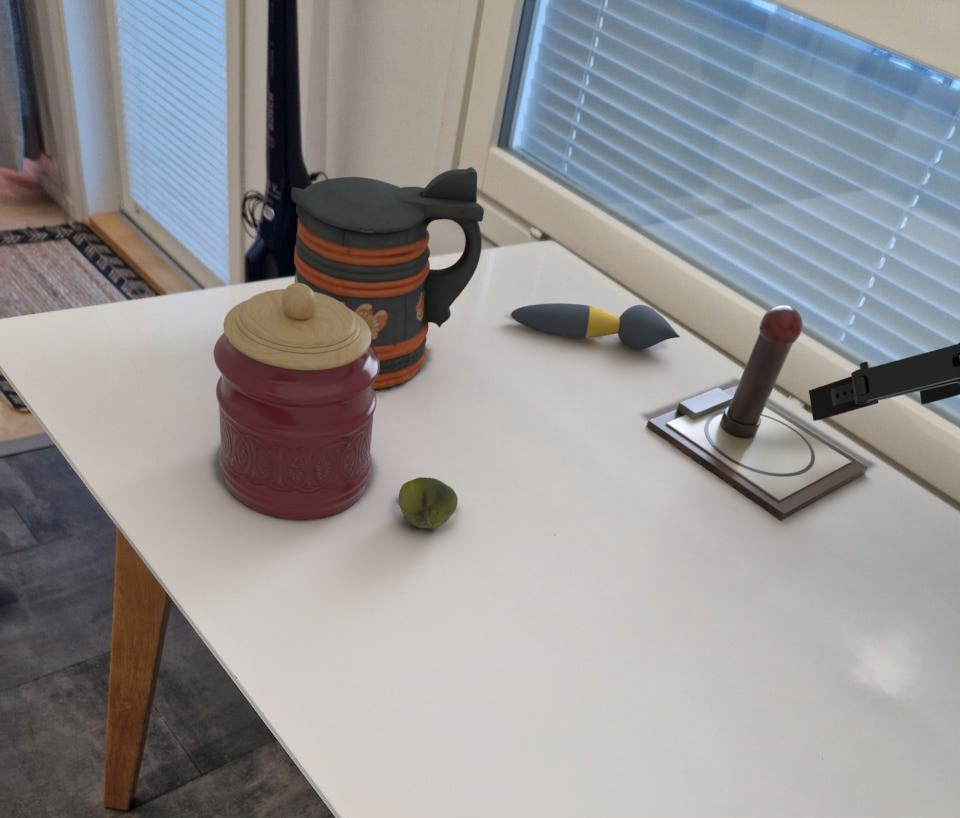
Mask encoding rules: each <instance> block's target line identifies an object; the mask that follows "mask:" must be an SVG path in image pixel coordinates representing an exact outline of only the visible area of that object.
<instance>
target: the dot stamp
mask: <svg viewBox="0 0 960 818" xmlns="http://www.w3.org/2000/svg"><path fill="white" fill-rule="evenodd" d="M802 331H803V318H802V316H801V314H800V312H799V311H798V310H797V309H796V308H794V307H792V306H790V305H785V304H783V305H782V304H781V305H776V306H774V307H772V308H770V309H769V310H767V311H766V313H765V314H764V315H763V316H762V318H761V320H760V322H759V333H758V336H757V338H756V340H755V343H754V345H753V347H752V350H751V353H750V354H749V358H748V360H747V363H746V365H745V367H744V369H743V372H742V375H741V377H740V379H739V382H738V384H737V385H738V387H737V389H736V391H735V394H734V396H733V399H732V401H731V404H730V406H729V407H727V408H726V409H725V411H724V413H723V416H722V418H721V421H720V426H721V427H722V429H723V430H724V431H725V432H727V433H728V434H730V435H732V436H735V437H738V438H752V437H754V436H755V435H756V433H757V430H758V428H759V426H760V424H761V418H760V417H761V414H762V412H763V410H764V407H765V405H766V403H767V404H768V401H769V399H770V396H771V394H772V392H773V389H774V387H775V385H776V383H777V380H778V378H779V376H780V374H781V371H782V369H783V366H784V364H785V362H786V360H787V358H788V355H789V353H790V351H791V348H792V347H793V345H794V343H795V342H796V341H797V340H798V339H799V337H800V336H801V333H802Z"/></svg>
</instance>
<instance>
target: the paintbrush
mask: <svg viewBox="0 0 960 818" xmlns="http://www.w3.org/2000/svg"><path fill="white" fill-rule="evenodd" d="M510 316H511V318H512V319H513V320H514V321H516V322H517V323H518V324H521V325H523V326H525V327H528V328H530V329H533V330H536V331H540V332H544V333H546V334H552V335H555V336H562V337H566V338H567V337H568V338H577V339H592V338H599V337H605V336H612V335H616V334H617V336H618V339H619V341H620V342H621V343H622V344H623V346H625V347H626V348H628V349H630V350H633V351H642V350H646V349H649V348H652V347H654V346H655V345H658V344H660V343H661V342H662V343H663V342H664V341H666V340H671V339H676V338H681V335H679V334H678V333H677V332H676V330H675V329H674V328H673V326H672V324H670V323H669V322H668V320H666V319H665V317H663V316H662V315H661V314H660V313H658V312H657V311H656V310H655V309H653V308H652V307H650V306H648V305H644V304H636V305H632V306H630V307H628V308H627V309H625V311H623V312H622V313H621V315H620V316H618V315H615V314H613V313H610V312H608V311H606V310H603V309H600V308H597V307H594V306H591V305H586V304H579V303H564V302H563V303H561V302H559V303H558V302H557V303H555V302H554V303H553V302H552V303H537V304H530V305H525V306H521V307H518V308H516V309H514V310H513V311H512V312H511V313H510Z"/></svg>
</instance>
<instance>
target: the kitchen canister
mask: <svg viewBox="0 0 960 818" xmlns="http://www.w3.org/2000/svg"><path fill="white" fill-rule="evenodd" d="M222 325H223V326H222V327H223V333H222V334H221V335H220V336H219V338H218V339H217V340H216V343H215V344H214V348H213V359H214V363H215V365H216V368H217V369H218V371H219V372H220V374H221V375H220V376H219V377H218V379H217V382H216V388H215V395H216V399H217V403H218V411H219V412H218V414H219V430H220V431H219V432H220V433H219V434H220V445H219V452H218V455H219V466H220V470H221V474H222V475H223V479H224V483H225V485H226V487H227V489H228V490H229V492H230V493H231V494H232V495H233V496H234V497H235V499H236V500H238V501H239V502H241V503H242V504H244V505H245V506H246V507H249V508H250V509H252V510H254V511H257V512H260V513H262V514H265V515H269V516H272V517H276V518H281V519H289V520H290V519H291V520H311V519H319V518H320V519H321V518H325V517H328V516H333V515H335V514H338V513H341V512H343V511H345V510H347V509H348V508H349V507H351V506H352V505H354V504H355V503H356V502H358V500H359V499H360V498H361V496H362V495H363V494H364V493H365V490H366V487H367V483H368V481H369V479H370V476H371V471H372V468H371V467H372V454H371V448H372V447H371V446H372V435H373V424H374V423H373V422H374V413H375V411H376V408H377V395H376V391H375V389H373V387H372V384H373V382H374V381H375V380H376V378H377V376H378V373H379V369H380V362H379V358H378V355H377V353H376V351H375V350H374V348H373V347H372V346H371V345H370V344H371V331H370V329H369V326H368V325H367V323H366V322H365V321H364V320H363V319H362V318H361V317H360V316H359V315H358V314H356V313H355V312H354V311H352V310H350V309H349V308H347V307H346V306H345V305H344V304H342V303H341V302H339V301H338V300H336V299H334V298H332V297H329V296H327V295H324V294H321V293H317V292H313V290H312V289H311V288H310V287H309V286H307V285H305V284H302V283H291V284H289V285H288V286H287V287H286V288H280V289H279V288H278V289H272V290H267V291H263V292H260V293H257V294H256V295H253V296H252V297H250V298H248V299H246V300H244V301H242V302H241V301H240V302H239V303H238V304H236V305H235V306H233V307H232V308H231V309H230V310H229V311H228V312H227V313H226V315H225V317H224V320H223V324H222Z"/></svg>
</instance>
